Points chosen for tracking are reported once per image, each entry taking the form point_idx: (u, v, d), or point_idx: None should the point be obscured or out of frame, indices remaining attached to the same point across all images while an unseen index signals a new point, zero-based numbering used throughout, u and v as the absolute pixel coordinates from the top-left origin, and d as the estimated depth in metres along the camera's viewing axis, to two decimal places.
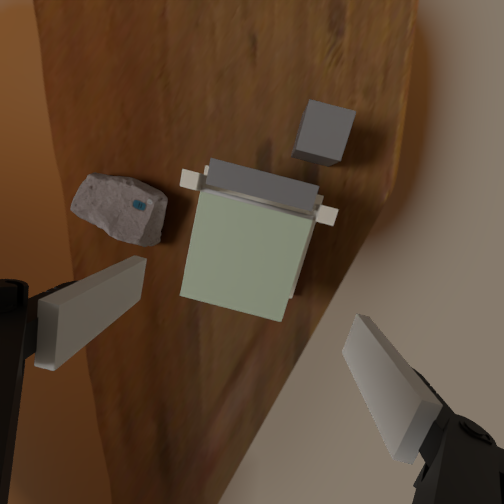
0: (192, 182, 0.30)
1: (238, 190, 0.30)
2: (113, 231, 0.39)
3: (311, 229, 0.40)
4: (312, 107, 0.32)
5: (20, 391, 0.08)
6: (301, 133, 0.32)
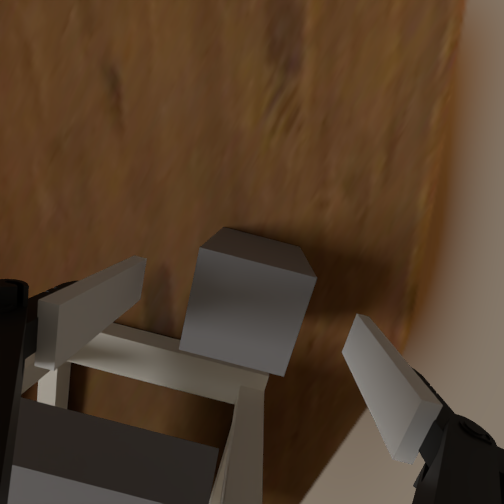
0: None
1: None
2: None
3: None
4: (208, 265, 0.13)
5: (20, 391, 0.08)
6: (188, 318, 0.14)
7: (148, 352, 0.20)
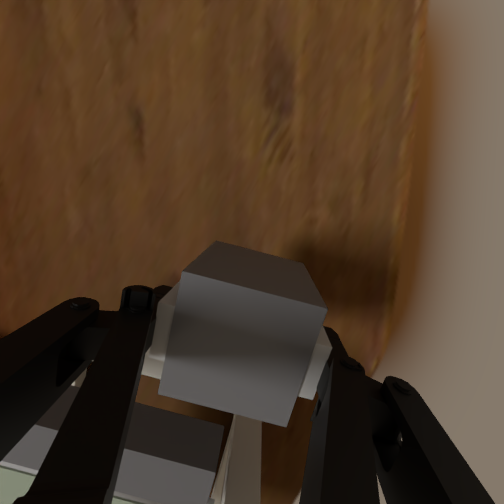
0: None
1: None
2: None
3: None
4: (193, 293, 0.10)
5: (138, 383, 0.09)
6: (169, 357, 0.11)
7: None
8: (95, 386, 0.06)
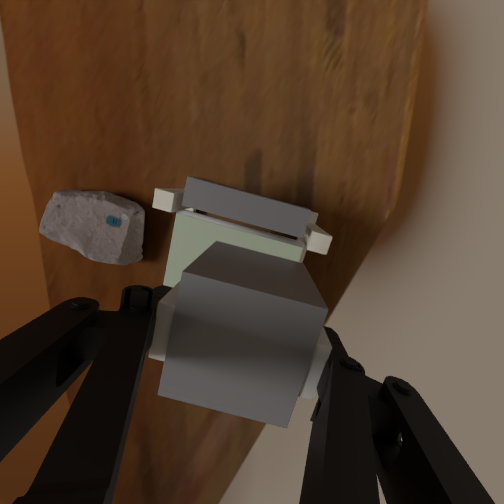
0: (166, 203, 0.26)
1: (219, 213, 0.26)
2: (88, 252, 0.35)
3: (304, 249, 0.37)
4: (193, 293, 0.10)
5: (138, 383, 0.09)
6: (169, 357, 0.11)
7: None
8: (95, 386, 0.06)
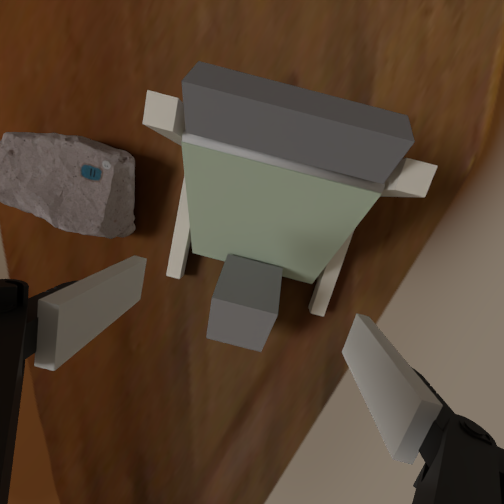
0: (166, 116, 0.16)
1: (246, 145, 0.16)
2: (57, 219, 0.25)
3: None
4: None
5: (20, 391, 0.08)
6: None
7: None
8: None
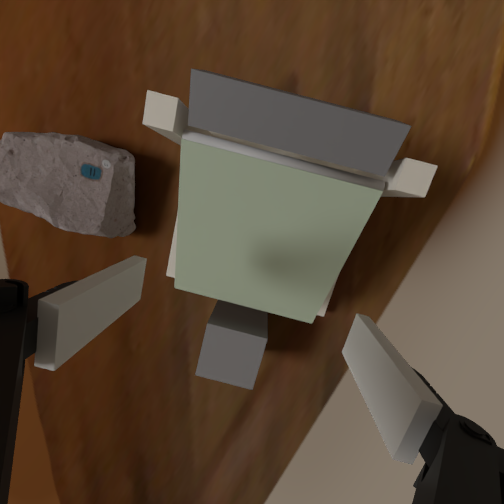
0: (166, 116, 0.16)
1: (248, 137, 0.16)
2: (58, 218, 0.25)
3: None
4: None
5: (20, 391, 0.08)
6: None
7: None
8: None
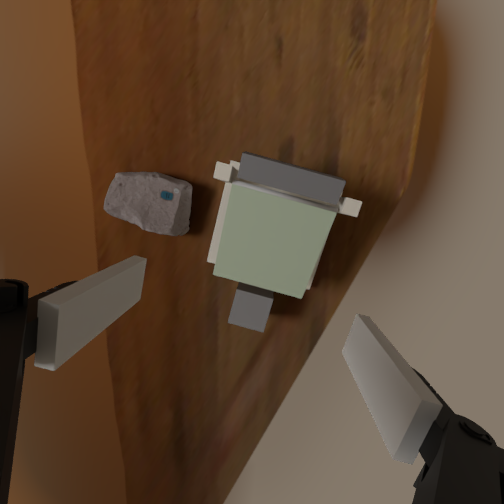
0: (225, 174, 0.32)
1: (268, 184, 0.32)
2: (145, 224, 0.40)
3: None
4: None
5: (20, 391, 0.08)
6: None
7: None
8: None
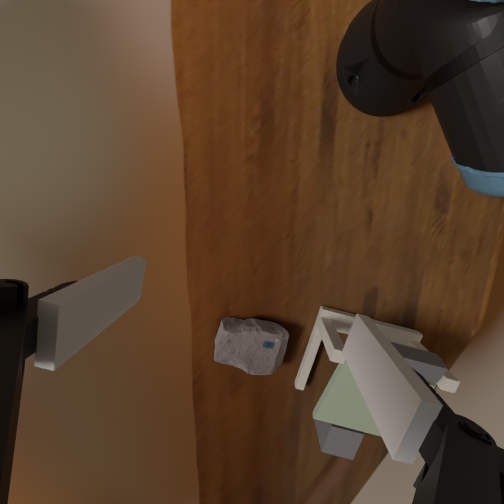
0: (341, 358, 0.37)
1: None
2: (250, 369, 0.46)
3: None
4: None
5: (20, 391, 0.08)
6: None
7: None
8: None
